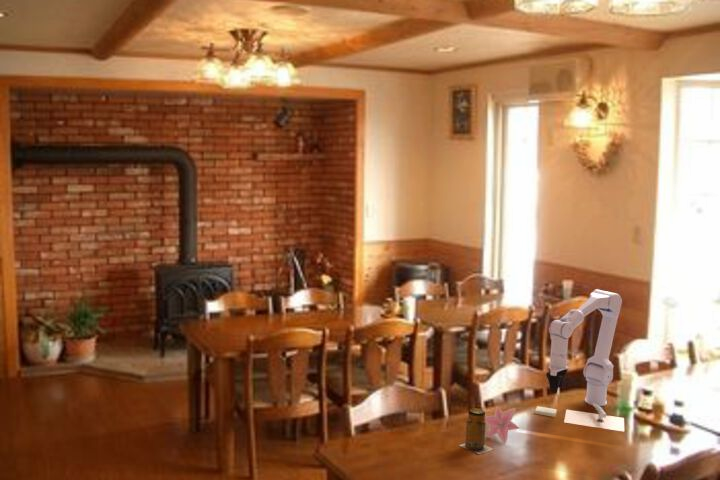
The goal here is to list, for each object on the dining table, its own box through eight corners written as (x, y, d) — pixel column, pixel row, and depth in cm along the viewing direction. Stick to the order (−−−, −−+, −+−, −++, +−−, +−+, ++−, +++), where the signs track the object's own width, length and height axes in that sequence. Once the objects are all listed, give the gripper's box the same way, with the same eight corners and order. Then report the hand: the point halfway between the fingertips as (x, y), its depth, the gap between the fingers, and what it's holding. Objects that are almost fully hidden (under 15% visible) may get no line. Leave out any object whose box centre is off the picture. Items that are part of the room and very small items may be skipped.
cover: (536, 412, 269) (537, 406, 269) (556, 416, 267) (556, 409, 266) (534, 417, 265) (535, 410, 265) (554, 420, 262) (554, 413, 262)
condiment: (474, 440, 240) (476, 405, 238) (494, 449, 233) (496, 413, 232) (458, 445, 235) (460, 410, 234) (478, 455, 229) (481, 418, 227)
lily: (477, 432, 250) (475, 413, 244) (505, 416, 253) (503, 397, 248) (499, 455, 240) (497, 436, 235) (528, 438, 244) (526, 419, 239)
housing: (566, 412, 270) (566, 409, 270) (623, 420, 264) (623, 417, 264) (563, 425, 257) (564, 422, 257) (624, 434, 251) (624, 431, 251)
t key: (601, 424, 256) (602, 413, 255) (592, 412, 268) (592, 401, 267) (605, 424, 256) (606, 413, 255) (596, 412, 268) (597, 402, 267)
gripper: (566, 360, 256) (563, 397, 257) (574, 350, 269) (571, 386, 270) (545, 356, 259) (542, 393, 261) (554, 347, 272) (551, 383, 273)
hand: (556, 389), depth 266 cm, fingers open, 7 cm apart
